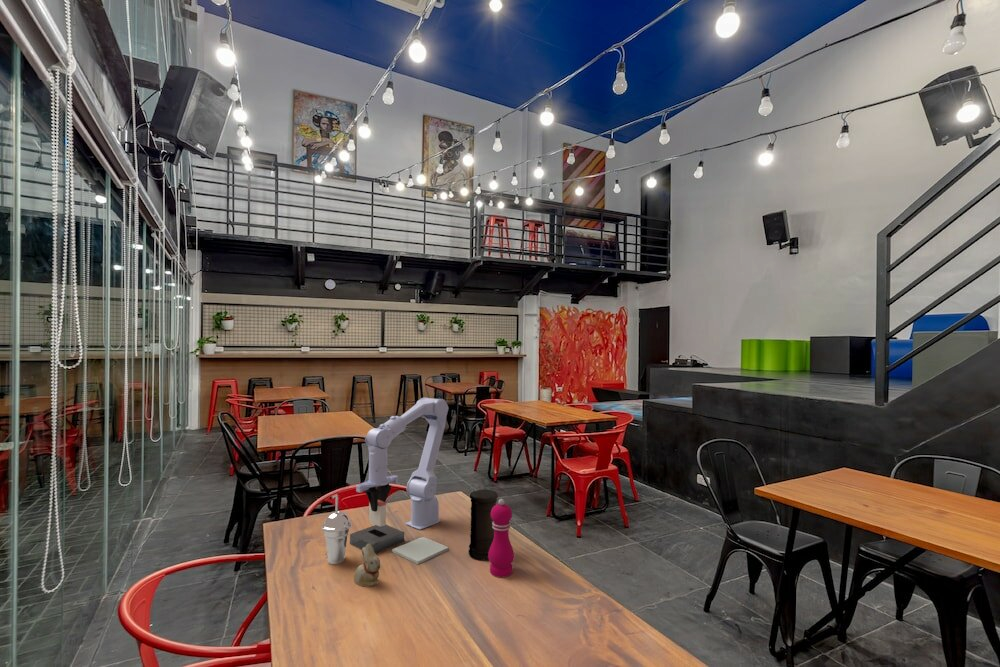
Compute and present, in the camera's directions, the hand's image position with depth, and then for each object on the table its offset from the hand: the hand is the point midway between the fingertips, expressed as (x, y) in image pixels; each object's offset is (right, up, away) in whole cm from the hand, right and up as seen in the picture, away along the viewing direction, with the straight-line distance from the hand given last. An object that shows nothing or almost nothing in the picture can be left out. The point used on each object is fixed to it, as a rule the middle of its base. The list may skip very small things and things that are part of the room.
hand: (377, 509), depth 143 cm
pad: (+15, -10, -6) cm, 19 cm away
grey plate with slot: (0, -10, 0) cm, 10 cm away
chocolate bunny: (+4, -10, -24) cm, 26 cm away
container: (+34, -11, -8) cm, 36 cm away
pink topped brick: (0, -4, 0) cm, 4 cm away
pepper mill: (+39, -10, -19) cm, 45 cm away
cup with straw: (-9, -10, -13) cm, 18 cm away
